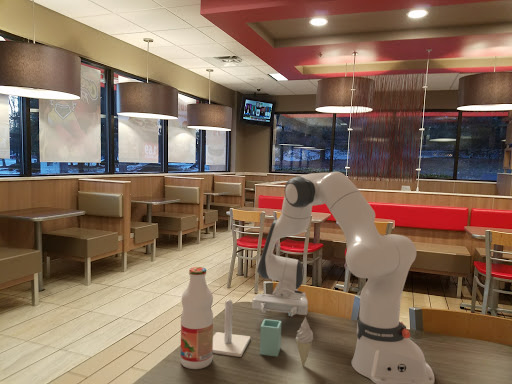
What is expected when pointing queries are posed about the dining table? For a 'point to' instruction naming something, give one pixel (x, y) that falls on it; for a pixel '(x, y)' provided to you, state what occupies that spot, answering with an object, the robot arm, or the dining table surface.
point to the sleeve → (270, 337)
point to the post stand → (229, 337)
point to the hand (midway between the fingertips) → (276, 312)
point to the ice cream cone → (304, 340)
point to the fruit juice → (197, 322)
